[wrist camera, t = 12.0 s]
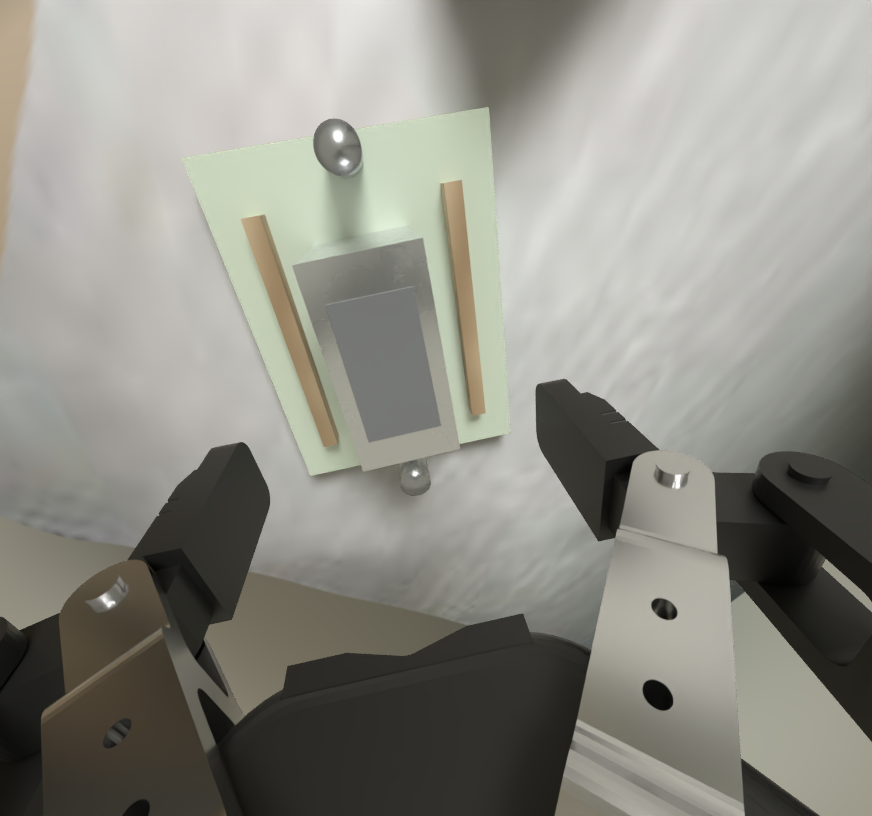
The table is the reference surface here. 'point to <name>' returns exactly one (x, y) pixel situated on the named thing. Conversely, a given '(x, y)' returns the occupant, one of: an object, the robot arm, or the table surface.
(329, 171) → the cradle
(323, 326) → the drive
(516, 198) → the table surface
